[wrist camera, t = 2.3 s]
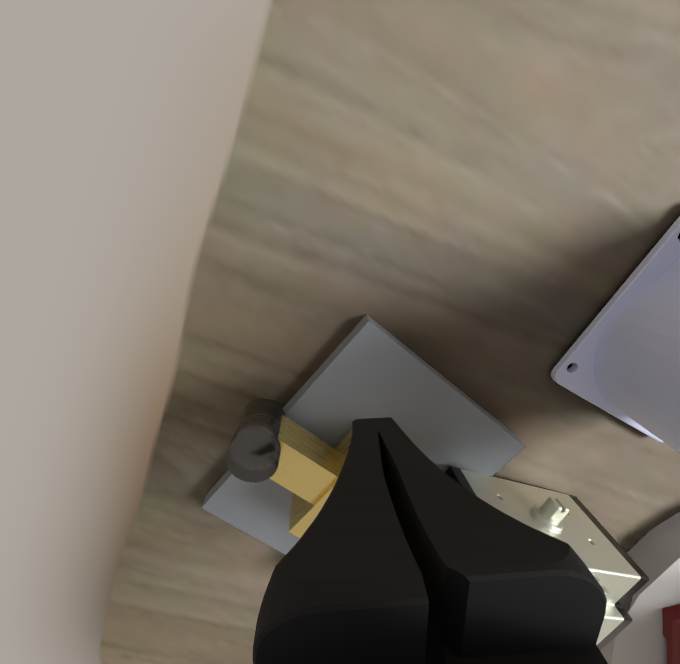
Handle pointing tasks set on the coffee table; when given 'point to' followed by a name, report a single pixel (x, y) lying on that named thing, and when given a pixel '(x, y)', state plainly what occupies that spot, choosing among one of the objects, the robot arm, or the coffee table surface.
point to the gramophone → (653, 602)
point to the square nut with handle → (286, 459)
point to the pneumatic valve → (567, 538)
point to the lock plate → (370, 402)
